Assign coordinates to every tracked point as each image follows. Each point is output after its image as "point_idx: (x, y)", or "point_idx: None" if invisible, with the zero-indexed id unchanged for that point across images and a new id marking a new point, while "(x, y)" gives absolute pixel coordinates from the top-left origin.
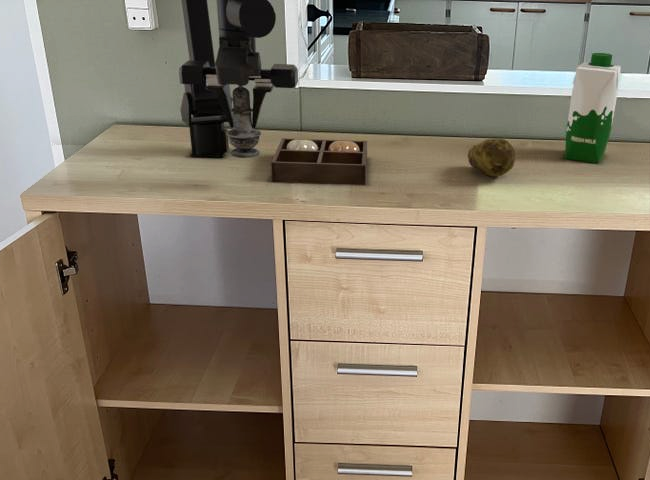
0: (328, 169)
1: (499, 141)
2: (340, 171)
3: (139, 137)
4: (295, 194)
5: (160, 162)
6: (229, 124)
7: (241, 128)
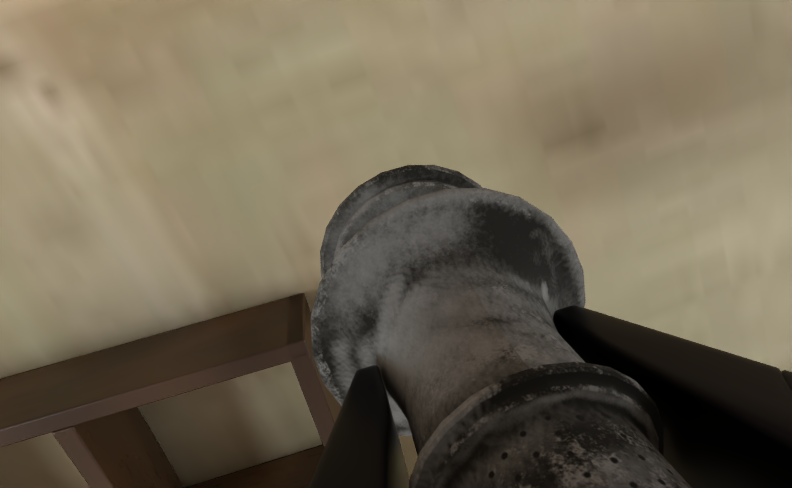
0: (9, 410)
1: None
2: None
3: None
4: (109, 168)
5: (764, 331)
6: (591, 310)
7: (460, 282)
